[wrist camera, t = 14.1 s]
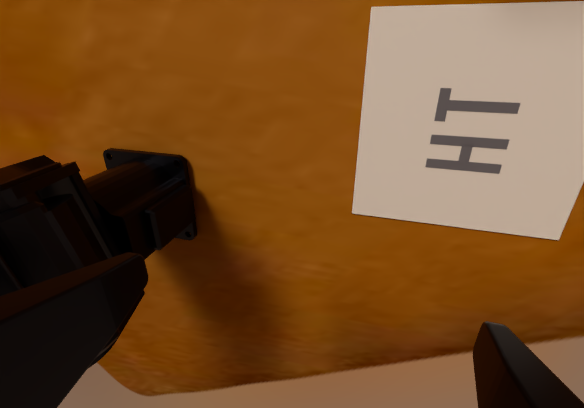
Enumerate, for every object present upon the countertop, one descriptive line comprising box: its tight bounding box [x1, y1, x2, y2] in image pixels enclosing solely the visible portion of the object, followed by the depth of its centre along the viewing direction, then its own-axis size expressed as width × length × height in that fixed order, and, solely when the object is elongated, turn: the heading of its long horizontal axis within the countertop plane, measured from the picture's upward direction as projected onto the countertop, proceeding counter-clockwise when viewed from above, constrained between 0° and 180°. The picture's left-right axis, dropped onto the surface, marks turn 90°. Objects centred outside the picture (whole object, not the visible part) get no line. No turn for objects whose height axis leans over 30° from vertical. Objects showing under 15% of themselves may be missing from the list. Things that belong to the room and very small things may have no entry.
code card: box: [352, 1, 584, 240], centre depth 16 cm, size 11×11×1 cm
